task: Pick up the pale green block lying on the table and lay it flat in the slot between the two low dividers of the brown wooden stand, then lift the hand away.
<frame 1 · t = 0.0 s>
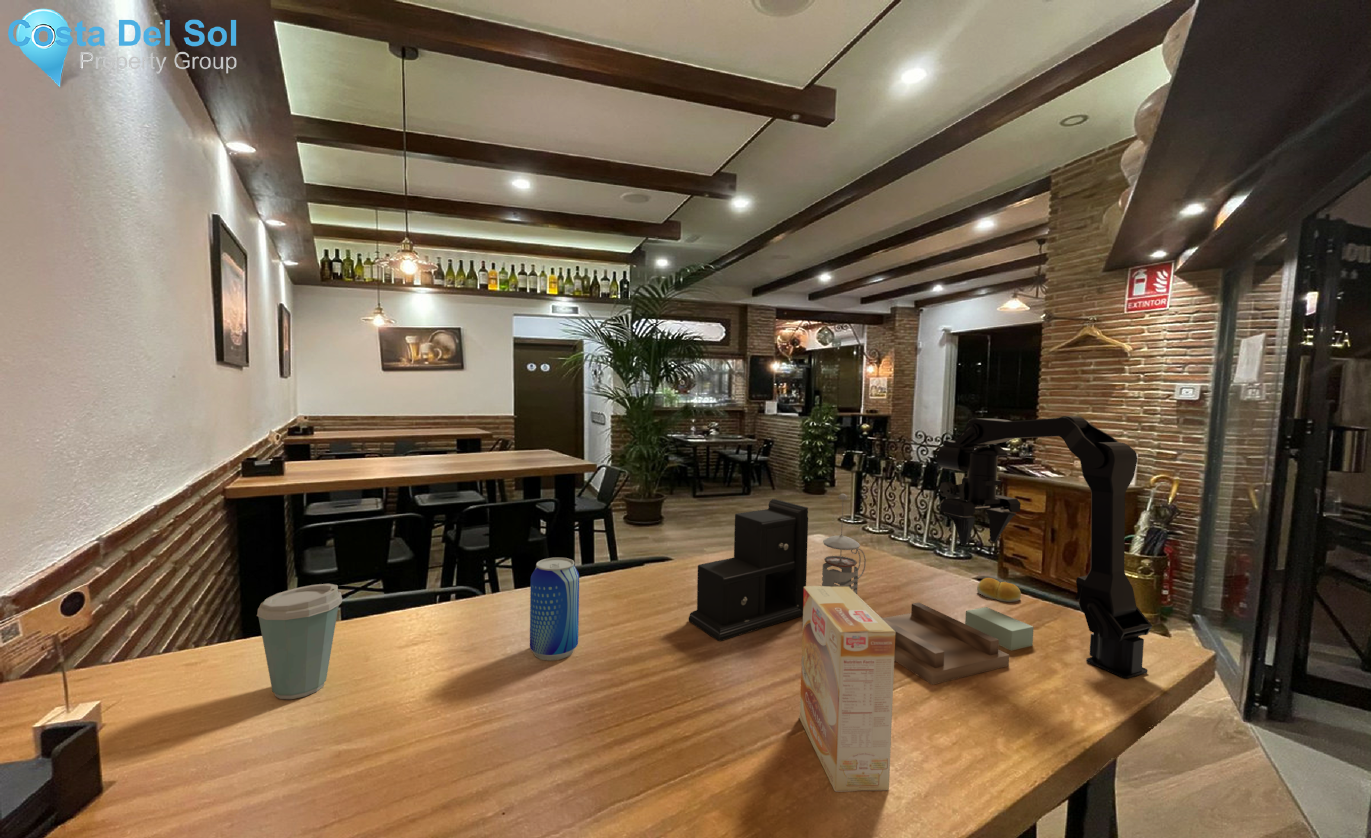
hand: (978, 543, 120), 15 cm above the table, tool pointing down, fingers open, 9 cm apart
beer can: (554, 652, 96), on the table
french press: (841, 602, 123), on the table
bread roll: (997, 597, 129), on the table
disposable coffee cup: (301, 689, 82), on the table
pale green block: (997, 638, 106), on the table
coffeecake box: (839, 752, 71), on the table
black drawer cabinet: (747, 620, 112), on the table
brown wooden stand: (925, 648, 100), on the table
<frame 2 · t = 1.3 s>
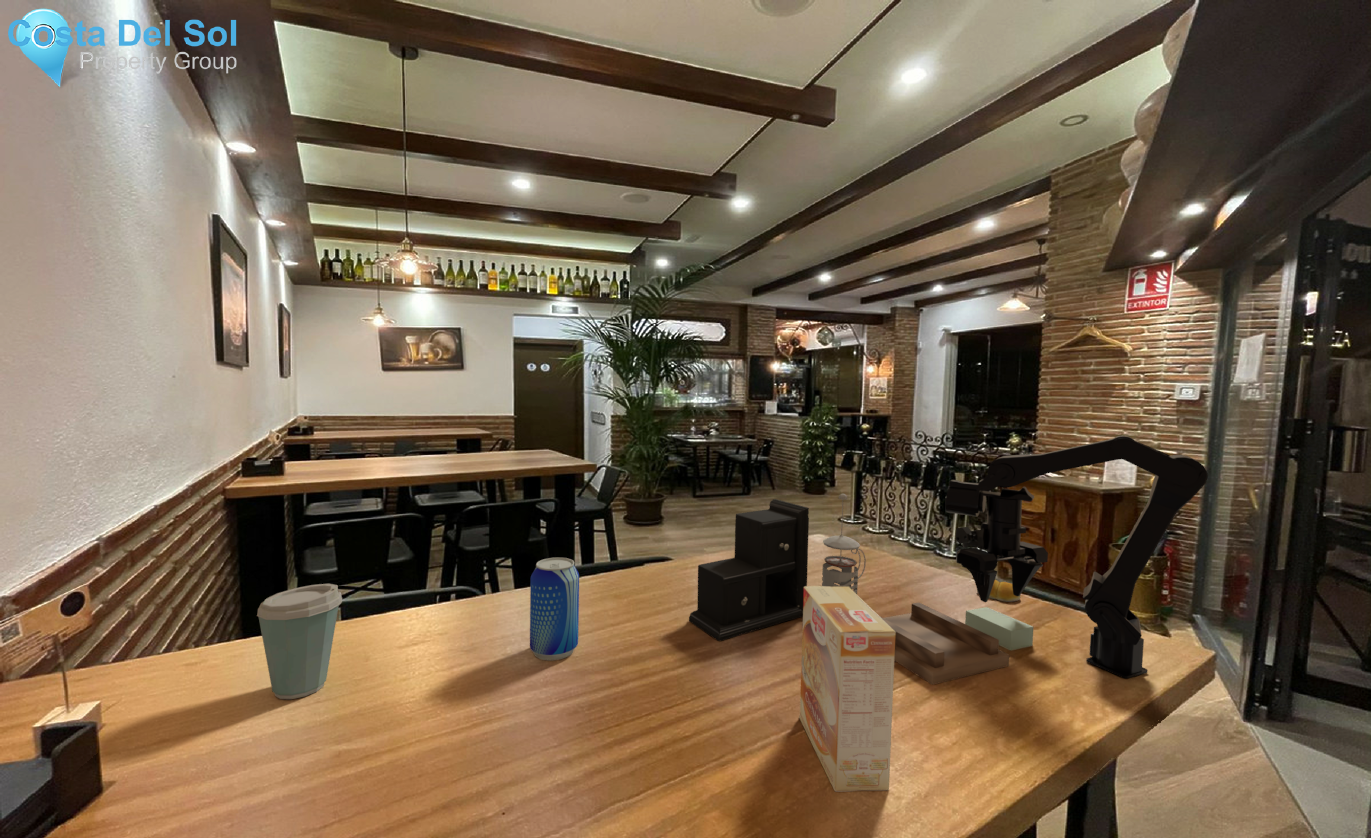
hand: (1000, 598, 106), 8 cm above the table, tool pointing down, fingers open, 9 cm apart
nothing on the table moved.
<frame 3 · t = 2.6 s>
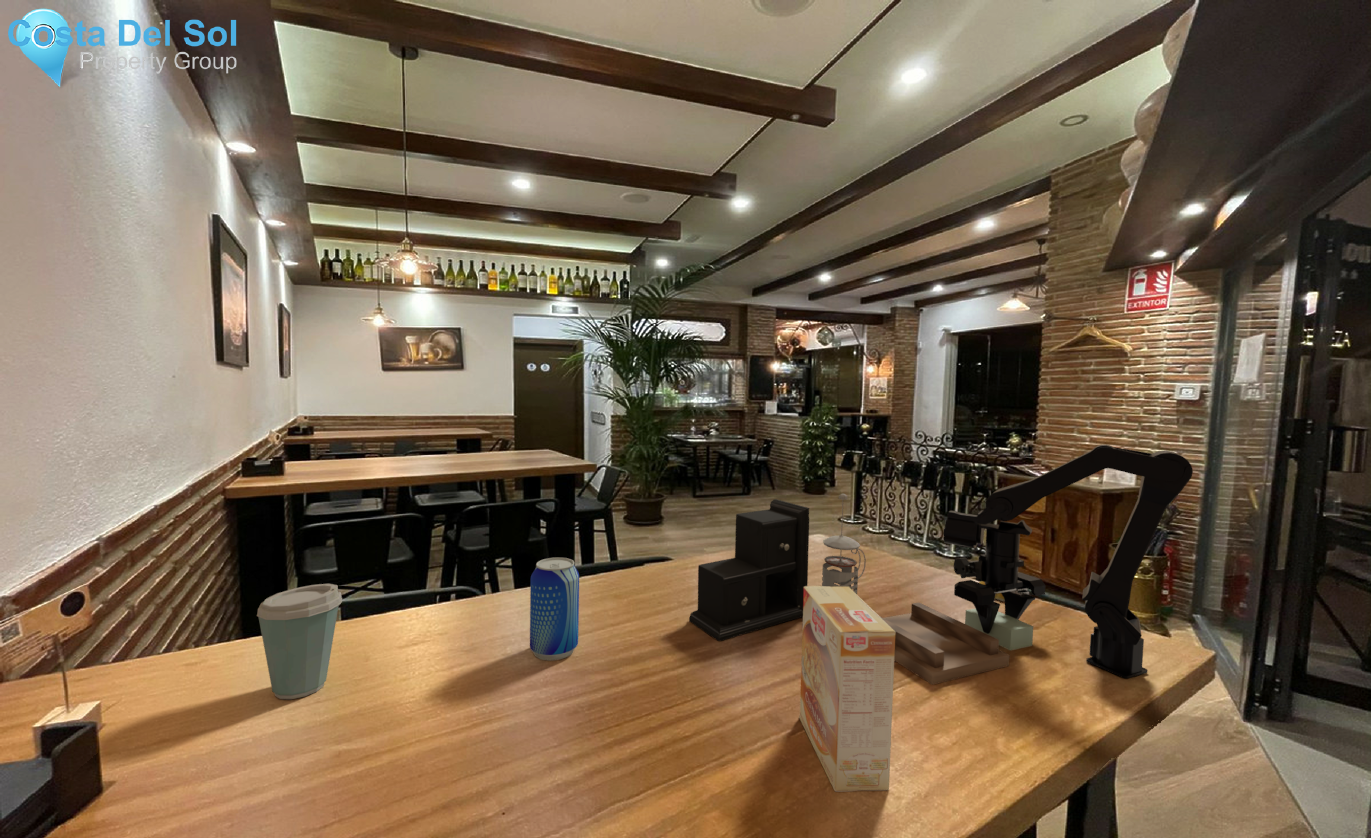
hand: (997, 630, 106), 1 cm above the table, tool pointing down, fingers closed on pale green block, 6 cm apart
pale green block: (997, 637, 106), on the table, touching gripper
everything else where it was.
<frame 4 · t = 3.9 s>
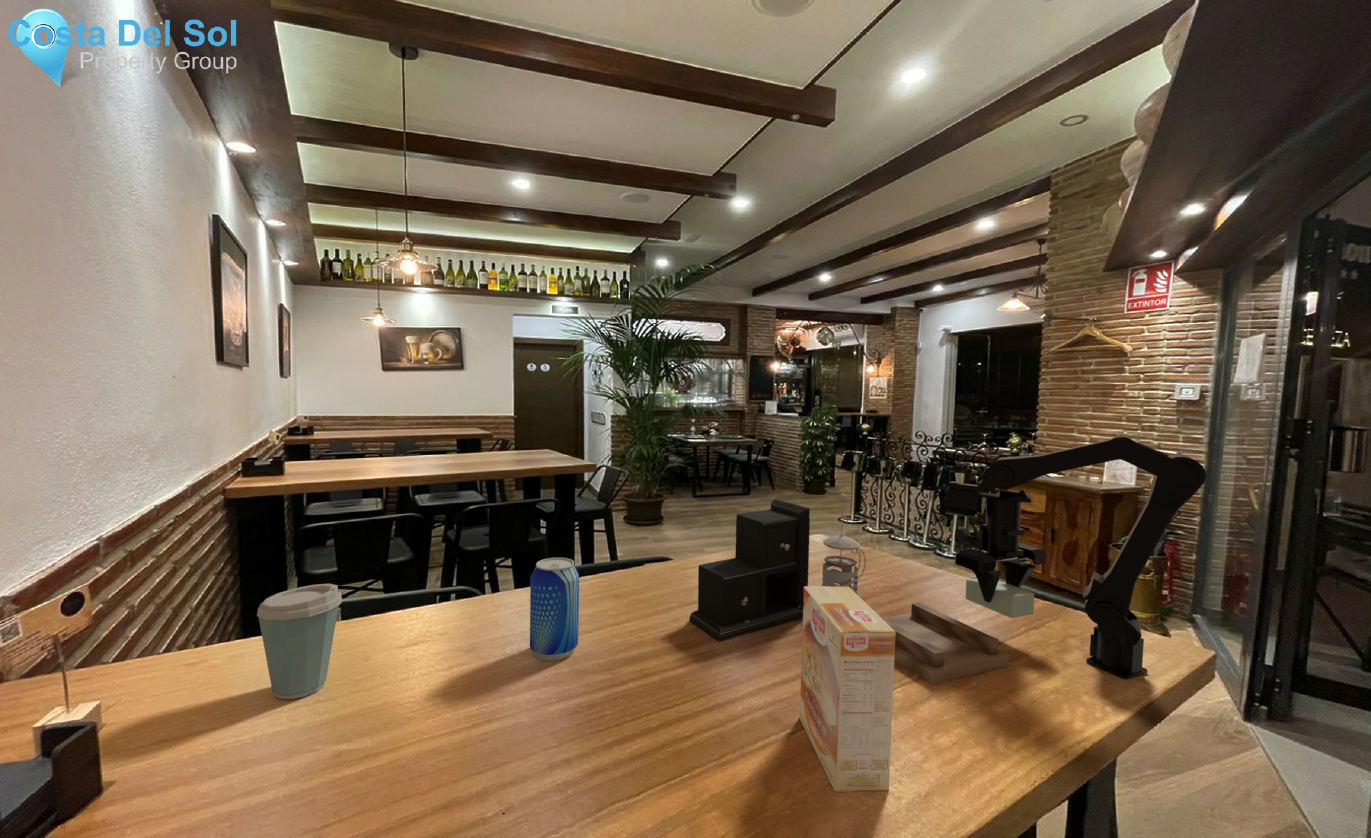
hand: (998, 599, 106), 7 cm above the table, tool pointing down, fingers closed on pale green block, 6 cm apart
pale green block: (998, 606, 106), point 6 cm above the table, touching gripper
everything else where it was.
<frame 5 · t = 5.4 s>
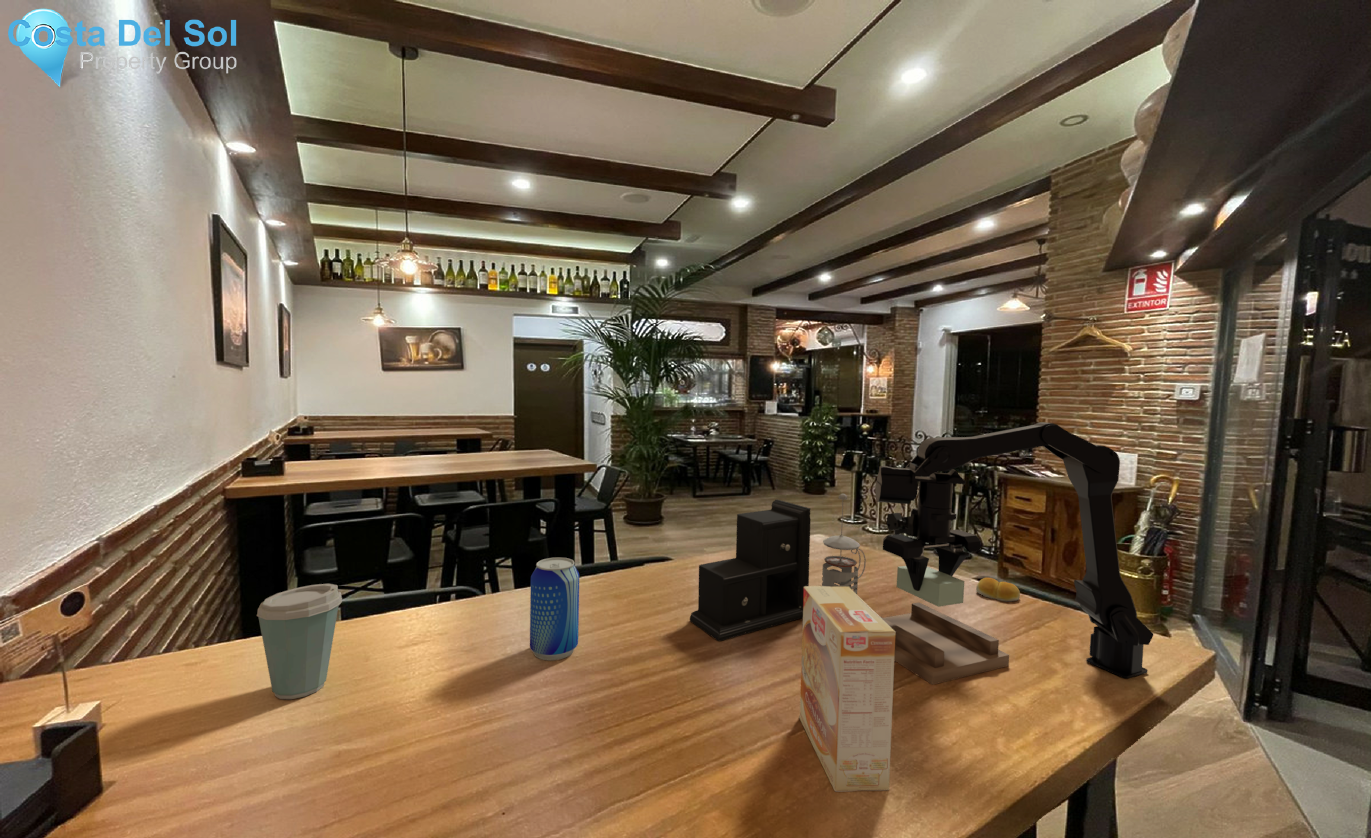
hand: (929, 588, 100), 11 cm above the table, tool pointing down, fingers closed on pale green block, 6 cm apart
pale green block: (928, 594, 100), point 10 cm above the table, touching gripper
everything else where it was.
when the fingers open (5 cm above the table, at t = 7.5 s): pale green block drops 2 cm, resting on brown wooden stand.
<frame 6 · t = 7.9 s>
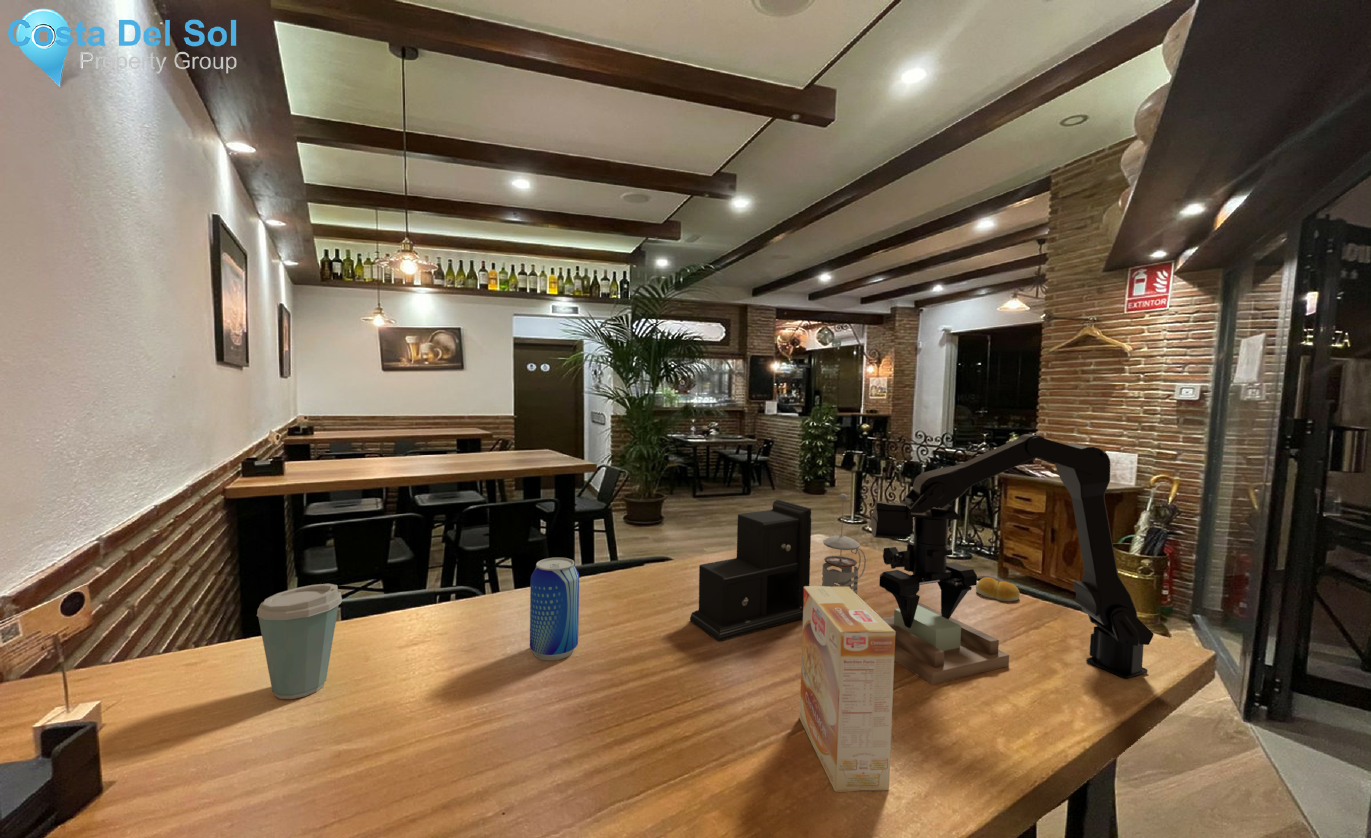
hand: (926, 623, 100), 5 cm above the table, tool pointing down, fingers open, 9 cm apart
pale green block: (925, 638, 100), point 2 cm above the table, touching brown wooden stand
everything else where it was.
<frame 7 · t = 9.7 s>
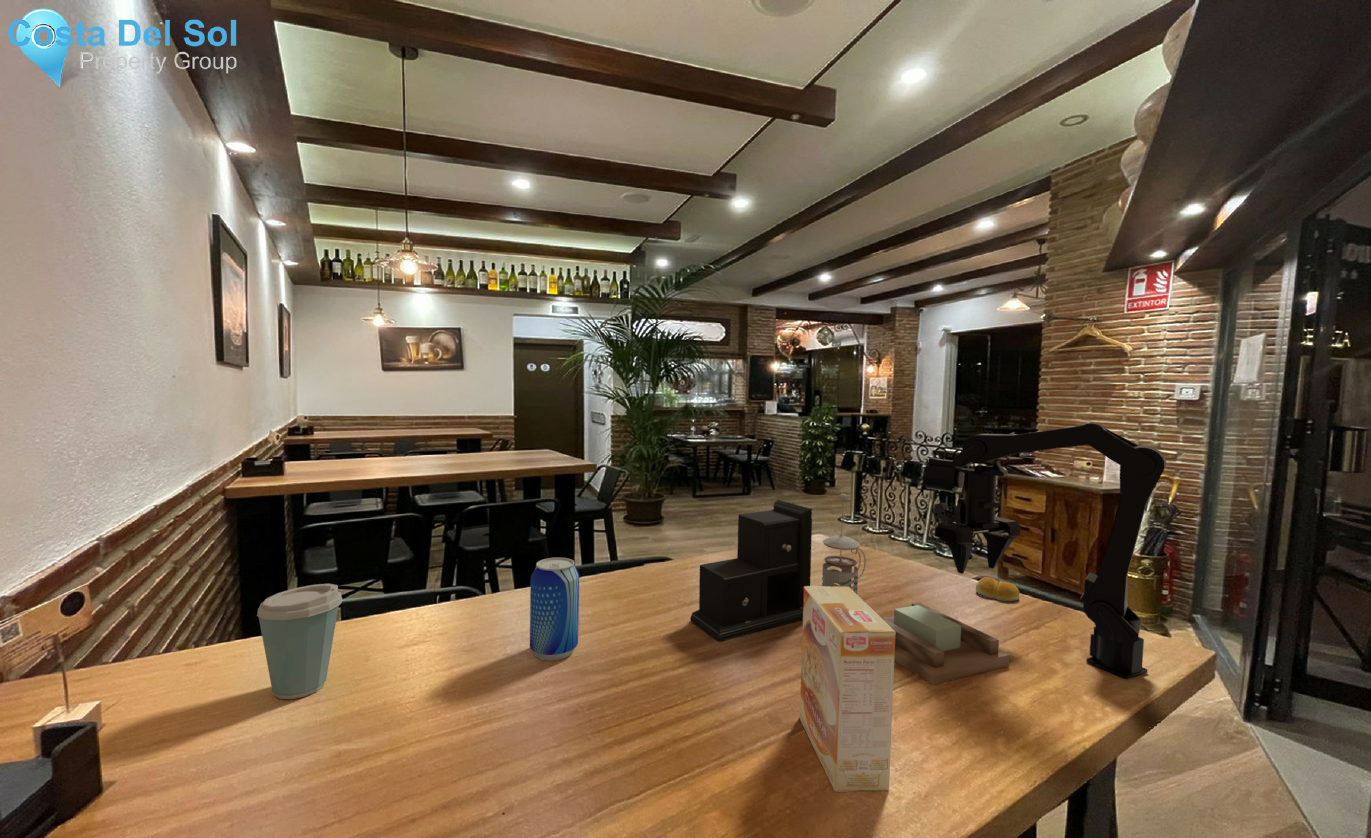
hand: (976, 570, 110), 12 cm above the table, tool pointing down, fingers open, 9 cm apart
nothing on the table moved.
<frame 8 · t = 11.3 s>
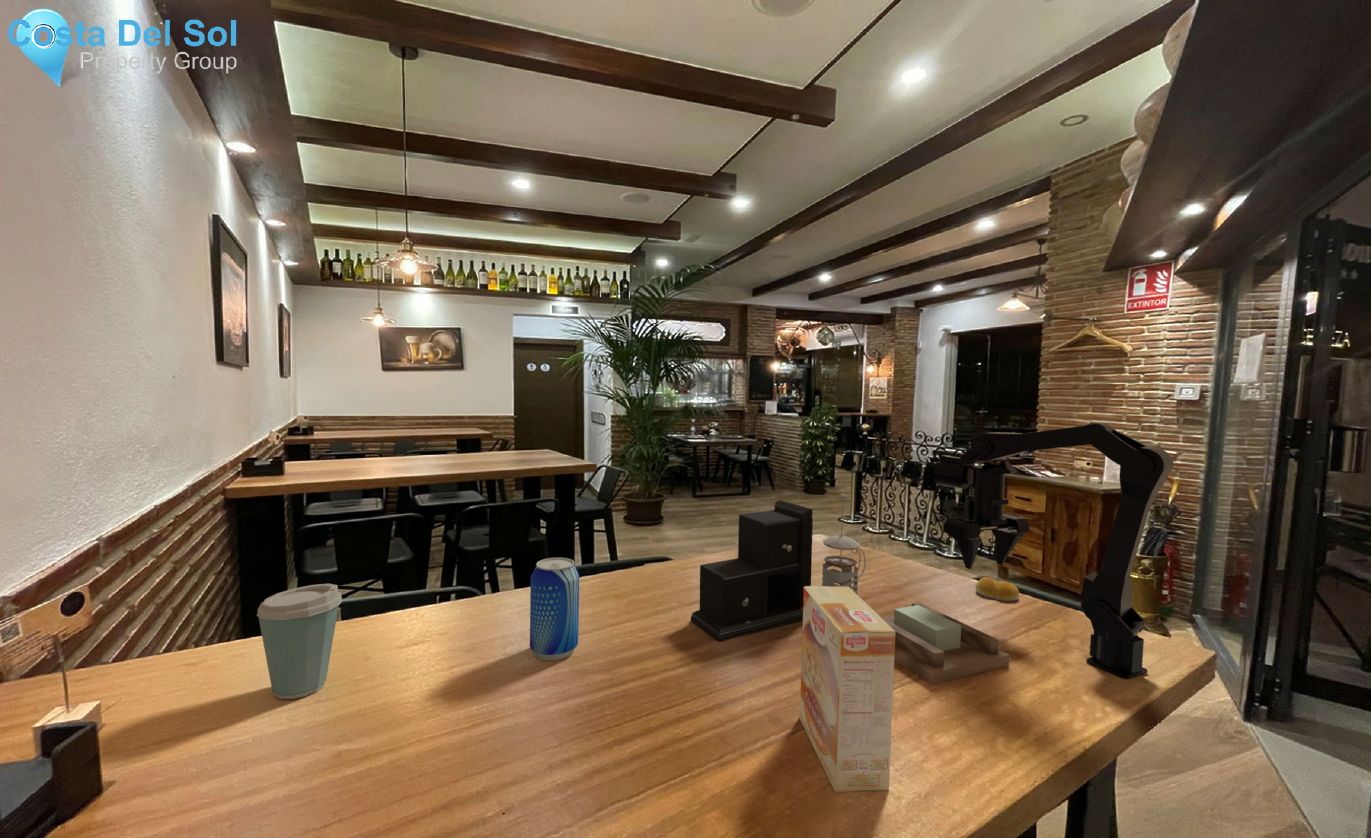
hand: (984, 566, 112), 12 cm above the table, tool pointing down, fingers open, 9 cm apart
nothing on the table moved.
at the end: pale green block inside the target area (0.1 cm from its centre), point 2.0 cm above the table; pale green block tilted 0°; the gripper is holding nothing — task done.
